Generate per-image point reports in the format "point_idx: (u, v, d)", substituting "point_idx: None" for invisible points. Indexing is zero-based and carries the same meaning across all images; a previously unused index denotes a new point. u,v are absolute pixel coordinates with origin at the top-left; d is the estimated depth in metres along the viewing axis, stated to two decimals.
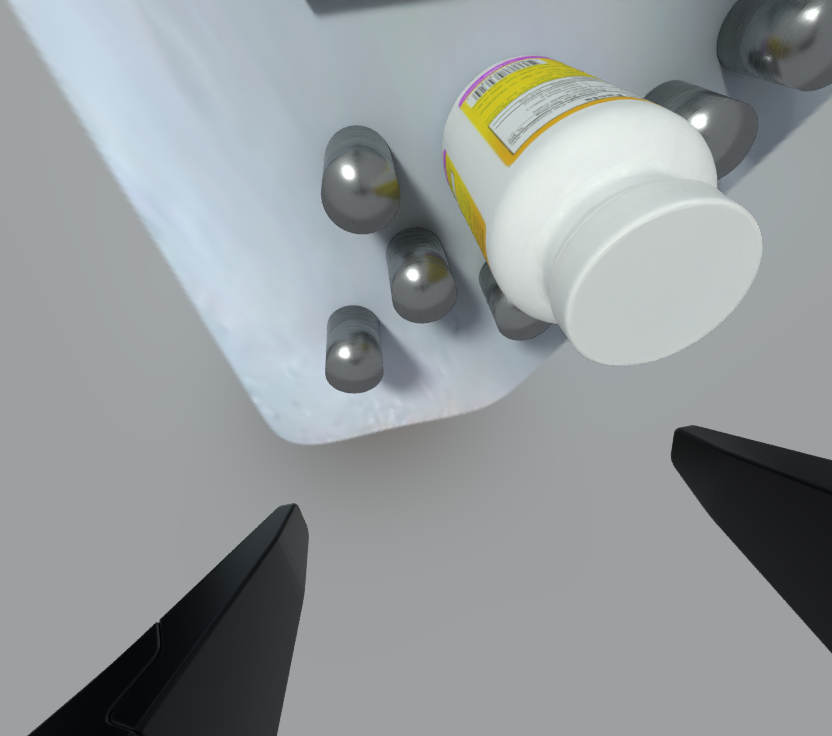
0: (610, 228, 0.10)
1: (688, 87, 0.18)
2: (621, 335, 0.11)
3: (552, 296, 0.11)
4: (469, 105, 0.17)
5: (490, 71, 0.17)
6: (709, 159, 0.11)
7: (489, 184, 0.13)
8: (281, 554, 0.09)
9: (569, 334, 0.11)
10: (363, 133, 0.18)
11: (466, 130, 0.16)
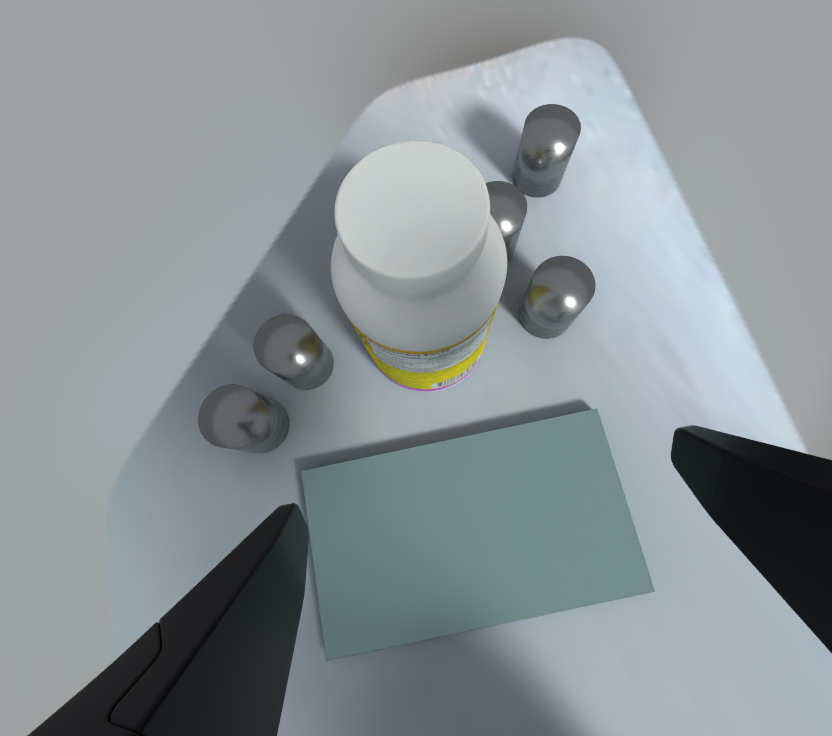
0: (473, 253, 0.13)
1: (305, 383, 0.24)
2: (427, 169, 0.13)
3: None
4: (480, 354, 0.22)
5: (462, 378, 0.23)
6: (363, 316, 0.15)
7: None
8: (281, 554, 0.09)
9: None
10: (549, 332, 0.24)
11: None
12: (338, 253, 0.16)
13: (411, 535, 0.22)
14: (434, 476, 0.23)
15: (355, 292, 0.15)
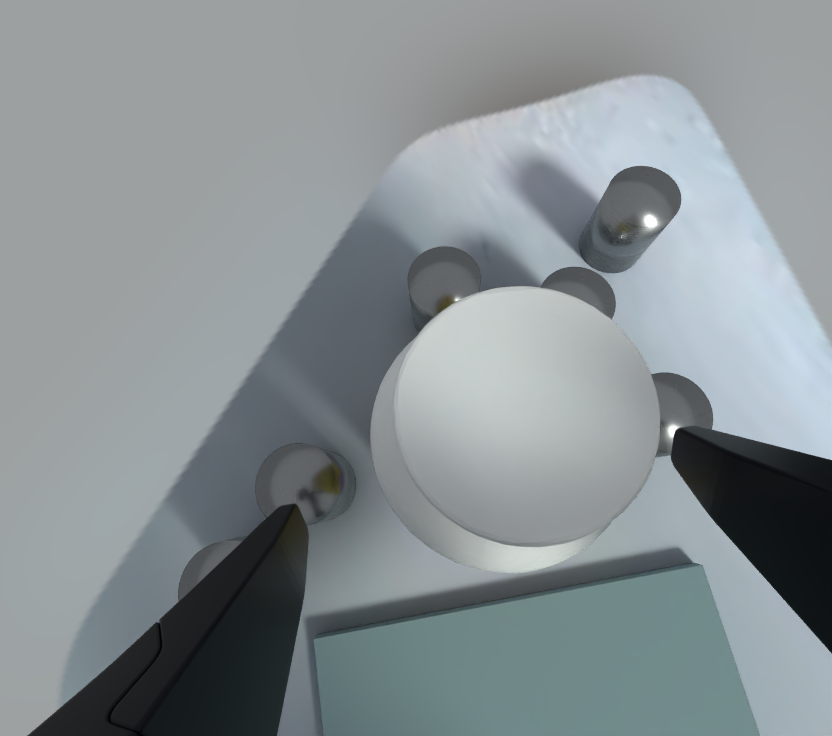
0: (633, 493, 0.07)
1: None
2: (548, 339, 0.08)
3: None
4: None
5: None
6: (423, 529, 0.10)
7: None
8: (281, 554, 0.09)
9: None
10: None
11: None
12: (384, 425, 0.10)
13: None
14: (489, 654, 0.17)
15: (411, 494, 0.10)
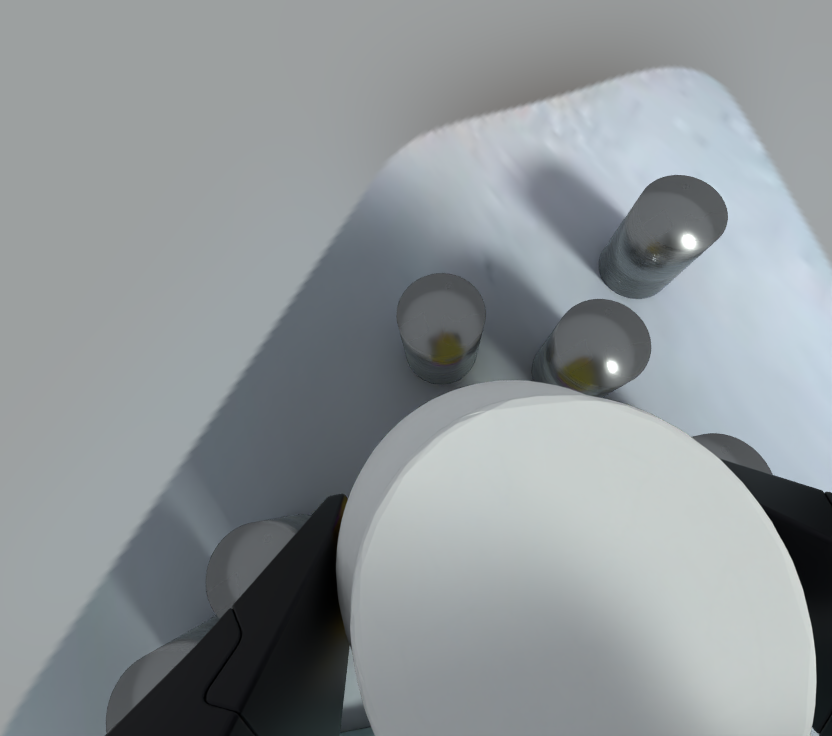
0: None
1: None
2: (613, 492, 0.05)
3: None
4: None
5: None
6: None
7: None
8: None
9: (751, 495, 0.05)
10: None
11: None
12: (353, 562, 0.07)
13: None
14: None
15: None
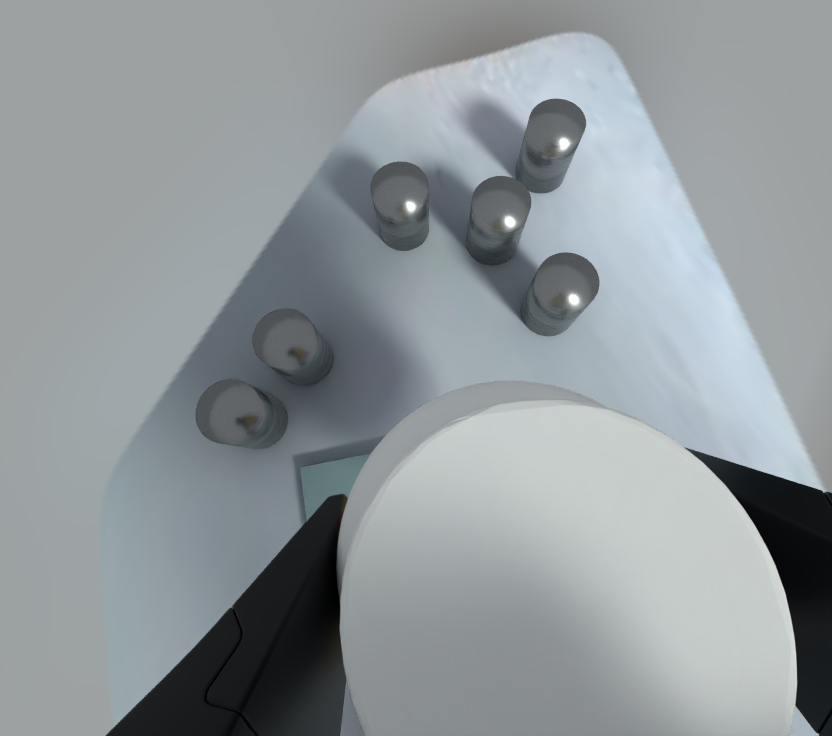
0: None
1: (305, 379, 0.23)
2: (595, 496, 0.05)
3: None
4: None
5: None
6: None
7: None
8: None
9: (735, 498, 0.05)
10: (551, 329, 0.24)
11: None
12: None
13: None
14: None
15: None
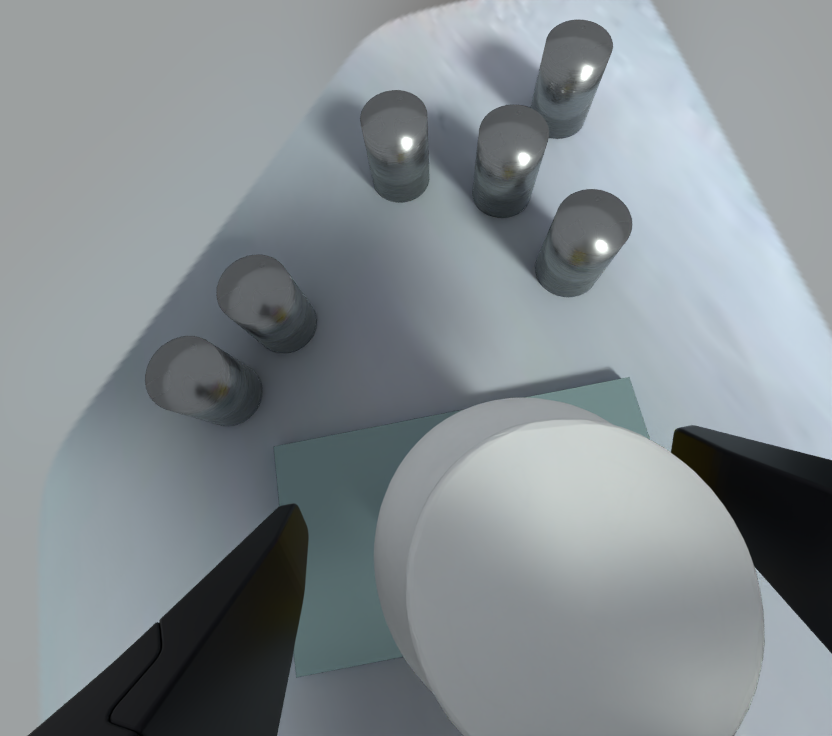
0: (727, 715, 0.06)
1: (281, 342, 0.20)
2: (610, 496, 0.06)
3: None
4: None
5: None
6: None
7: None
8: (281, 554, 0.09)
9: None
10: (572, 286, 0.20)
11: None
12: (391, 554, 0.09)
13: None
14: None
15: None
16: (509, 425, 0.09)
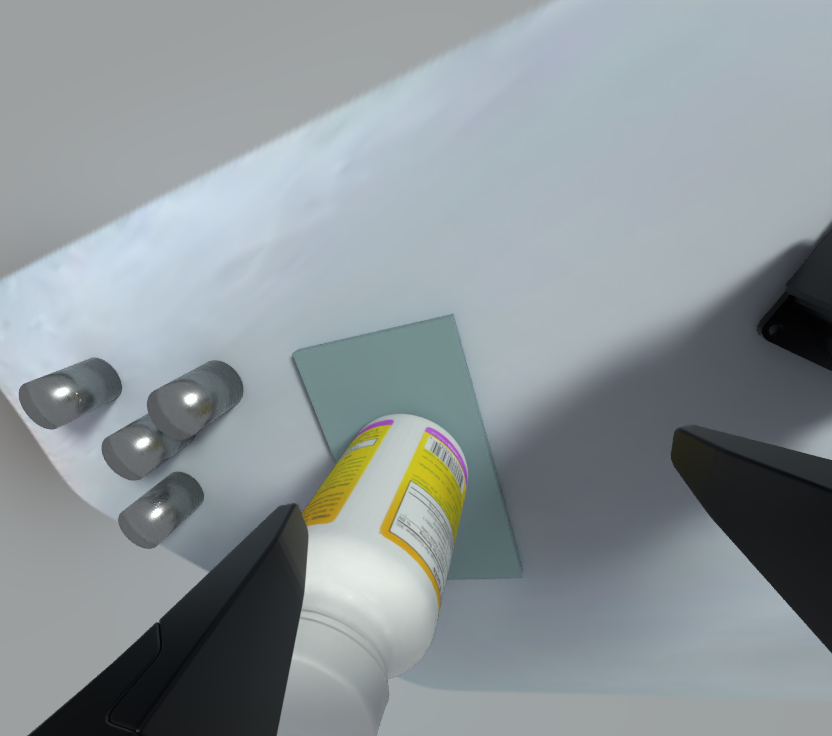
0: (341, 665, 0.12)
1: None
2: None
3: None
4: (426, 443, 0.21)
5: (452, 447, 0.22)
6: (408, 669, 0.16)
7: (365, 511, 0.16)
8: (281, 554, 0.09)
9: None
10: (231, 394, 0.25)
11: (407, 451, 0.20)
12: None
13: None
14: None
15: None
16: None
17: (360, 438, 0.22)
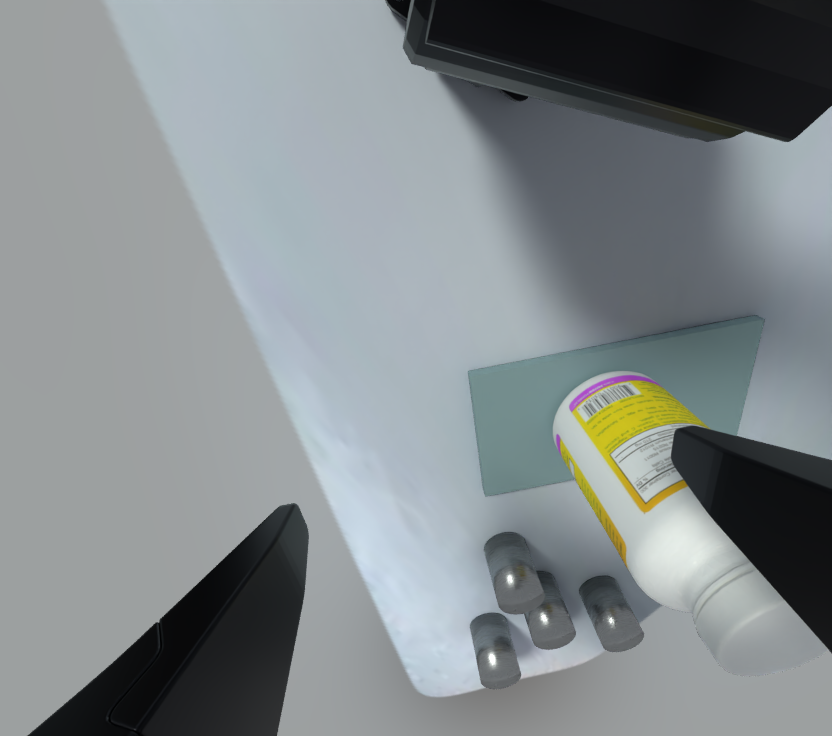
0: (747, 605, 0.14)
1: None
2: (759, 660, 0.15)
3: (699, 628, 0.15)
4: (582, 417, 0.22)
5: (593, 388, 0.23)
6: None
7: (624, 514, 0.18)
8: (281, 554, 0.09)
9: (720, 663, 0.15)
10: (513, 545, 0.30)
11: (585, 441, 0.22)
12: None
13: None
14: None
15: None
16: None
17: (568, 467, 0.24)
